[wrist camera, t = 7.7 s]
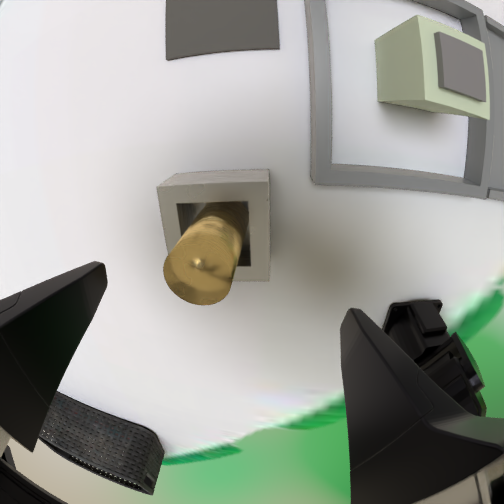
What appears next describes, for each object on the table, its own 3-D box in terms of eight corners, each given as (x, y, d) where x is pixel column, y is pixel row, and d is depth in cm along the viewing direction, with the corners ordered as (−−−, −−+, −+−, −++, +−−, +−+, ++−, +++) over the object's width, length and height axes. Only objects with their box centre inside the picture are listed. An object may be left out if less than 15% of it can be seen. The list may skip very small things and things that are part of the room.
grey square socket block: (270, 254, 22) (269, 281, 19) (187, 254, 23) (173, 279, 20) (269, 169, 19) (267, 181, 16) (175, 173, 20) (156, 186, 16)
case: (545, 206, 17) (558, 214, 14) (310, 176, 19) (315, 184, 17) (551, 72, 8) (564, 74, 6) (300, -30, 11) (303, -44, 9)
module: (433, 112, 15) (495, 121, 9) (377, 101, 16) (430, 99, 9) (430, 54, 13) (490, 42, 6) (374, 40, 14) (422, 11, 7)
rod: (252, 238, 21) (236, 304, 14) (207, 241, 22) (174, 305, 15) (245, 193, 20) (224, 242, 13) (198, 198, 20) (155, 248, 13)
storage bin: (73, 420, 53) (57, 456, 41) (45, 383, 43) (22, 425, 32) (167, 454, 52) (156, 497, 41) (154, 427, 43) (137, 483, 31)
